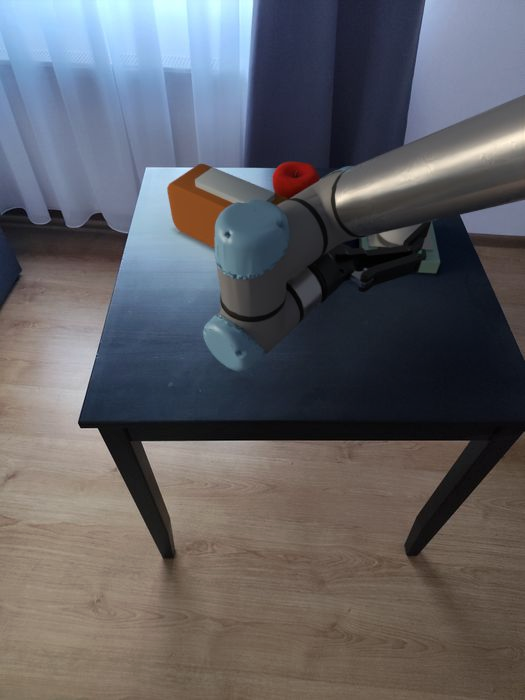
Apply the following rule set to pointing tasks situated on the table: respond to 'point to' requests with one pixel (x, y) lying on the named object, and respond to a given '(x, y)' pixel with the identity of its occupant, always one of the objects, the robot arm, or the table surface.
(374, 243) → the weighing plate
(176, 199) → the alarm clock
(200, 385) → the table surface
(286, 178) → the apple
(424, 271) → the scale
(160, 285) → the table surface
